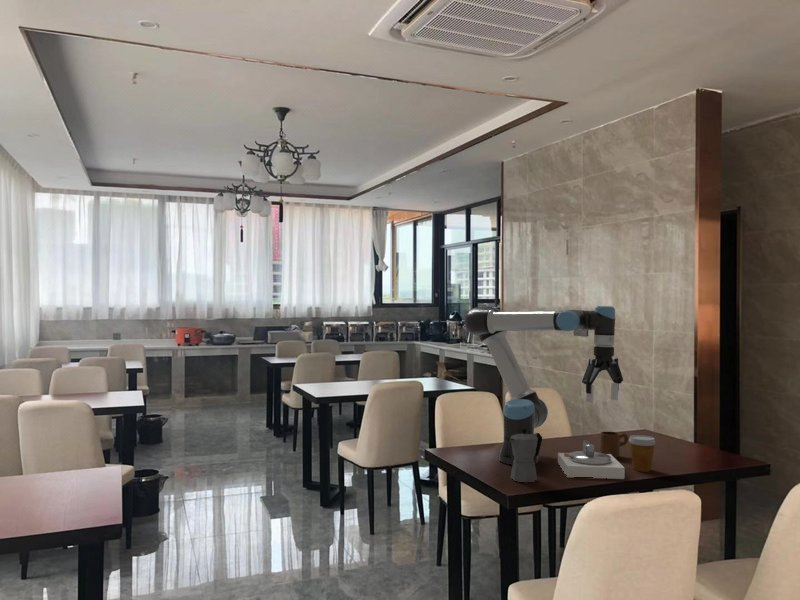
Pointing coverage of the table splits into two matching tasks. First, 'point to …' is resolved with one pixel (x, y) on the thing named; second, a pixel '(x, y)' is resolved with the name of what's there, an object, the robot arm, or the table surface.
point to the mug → (612, 443)
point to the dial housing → (591, 468)
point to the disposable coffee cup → (642, 452)
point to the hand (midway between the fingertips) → (602, 400)
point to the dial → (589, 455)
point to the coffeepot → (525, 456)
